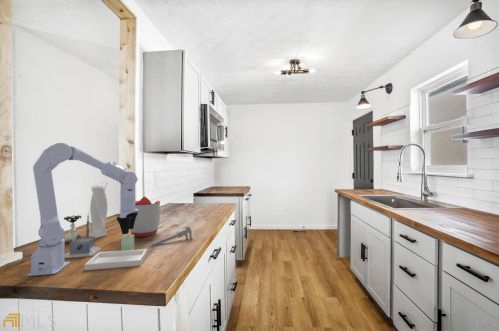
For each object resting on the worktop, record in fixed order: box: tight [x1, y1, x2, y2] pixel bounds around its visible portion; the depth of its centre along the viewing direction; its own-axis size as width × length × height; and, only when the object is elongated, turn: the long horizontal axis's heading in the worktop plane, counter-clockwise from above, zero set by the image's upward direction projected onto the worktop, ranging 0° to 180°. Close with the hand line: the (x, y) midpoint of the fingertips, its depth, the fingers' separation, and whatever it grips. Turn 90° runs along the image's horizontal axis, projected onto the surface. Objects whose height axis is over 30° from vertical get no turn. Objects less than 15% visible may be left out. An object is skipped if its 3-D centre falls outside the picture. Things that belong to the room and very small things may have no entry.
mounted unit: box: [64, 238, 102, 259], centre depth 98 cm, size 8×10×6 cm
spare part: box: [120, 234, 135, 251], centre depth 102 cm, size 4×4×6 cm
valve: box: [63, 215, 83, 243], centre depth 113 cm, size 7×7×12 cm
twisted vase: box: [85, 181, 108, 239], centre depth 123 cm, size 8×8×28 cm
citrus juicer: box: [129, 196, 161, 238], centre depth 127 cm, size 16×17×20 cm
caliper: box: [148, 225, 193, 248], centre depth 113 cm, size 20×1×6 cm, turn 130°
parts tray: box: [84, 248, 148, 271], centre depth 90 cm, size 12×18×2 cm, turn 102°
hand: (128, 231), depth 102 cm, fingers open, 7 cm apart
